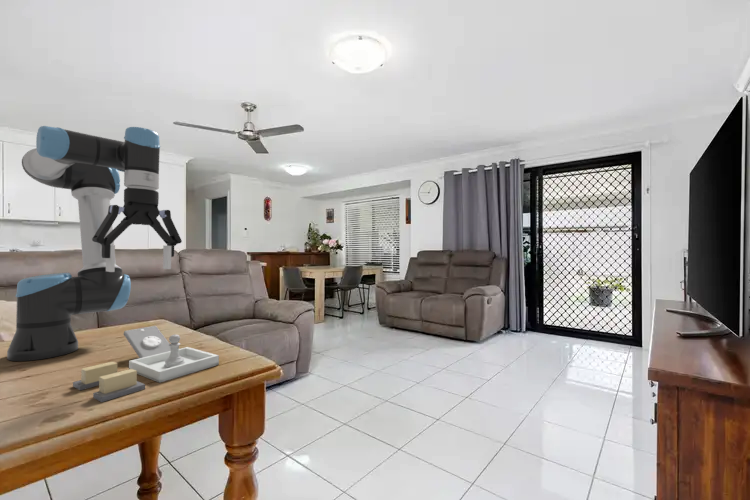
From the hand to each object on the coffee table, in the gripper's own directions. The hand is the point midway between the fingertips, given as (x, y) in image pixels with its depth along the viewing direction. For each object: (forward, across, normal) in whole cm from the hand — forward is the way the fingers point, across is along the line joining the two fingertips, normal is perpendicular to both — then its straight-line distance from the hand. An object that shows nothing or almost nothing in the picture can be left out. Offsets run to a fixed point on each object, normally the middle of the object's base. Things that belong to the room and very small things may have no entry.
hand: (140, 270), depth 91 cm
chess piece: (+25, +4, -9) cm, 27 cm away
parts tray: (+25, +4, -10) cm, 27 cm away
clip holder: (+25, -11, -10) cm, 29 cm away
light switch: (+26, +5, +4) cm, 27 cm away
